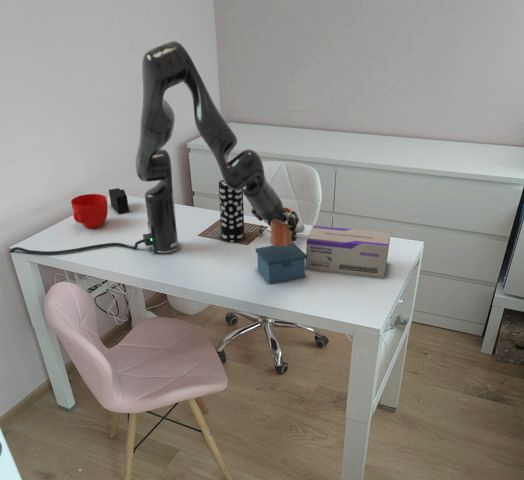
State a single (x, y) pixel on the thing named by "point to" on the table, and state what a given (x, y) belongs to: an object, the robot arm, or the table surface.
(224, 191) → the white-spotted black cylinder
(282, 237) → the tumbler
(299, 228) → the clip-on lamp
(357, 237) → the surgical sutures box
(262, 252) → the storage box
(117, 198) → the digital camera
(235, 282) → the table surface
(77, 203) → the ceramic cup
